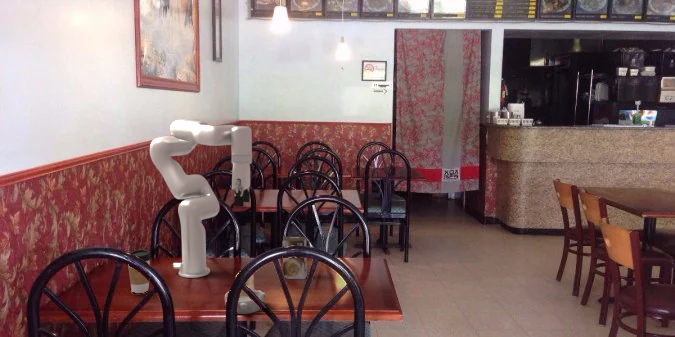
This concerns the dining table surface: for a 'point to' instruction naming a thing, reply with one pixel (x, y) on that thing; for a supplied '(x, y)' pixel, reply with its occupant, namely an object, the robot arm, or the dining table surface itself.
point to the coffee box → (295, 260)
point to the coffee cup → (136, 278)
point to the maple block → (248, 285)
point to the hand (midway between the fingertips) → (242, 204)
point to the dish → (248, 303)
